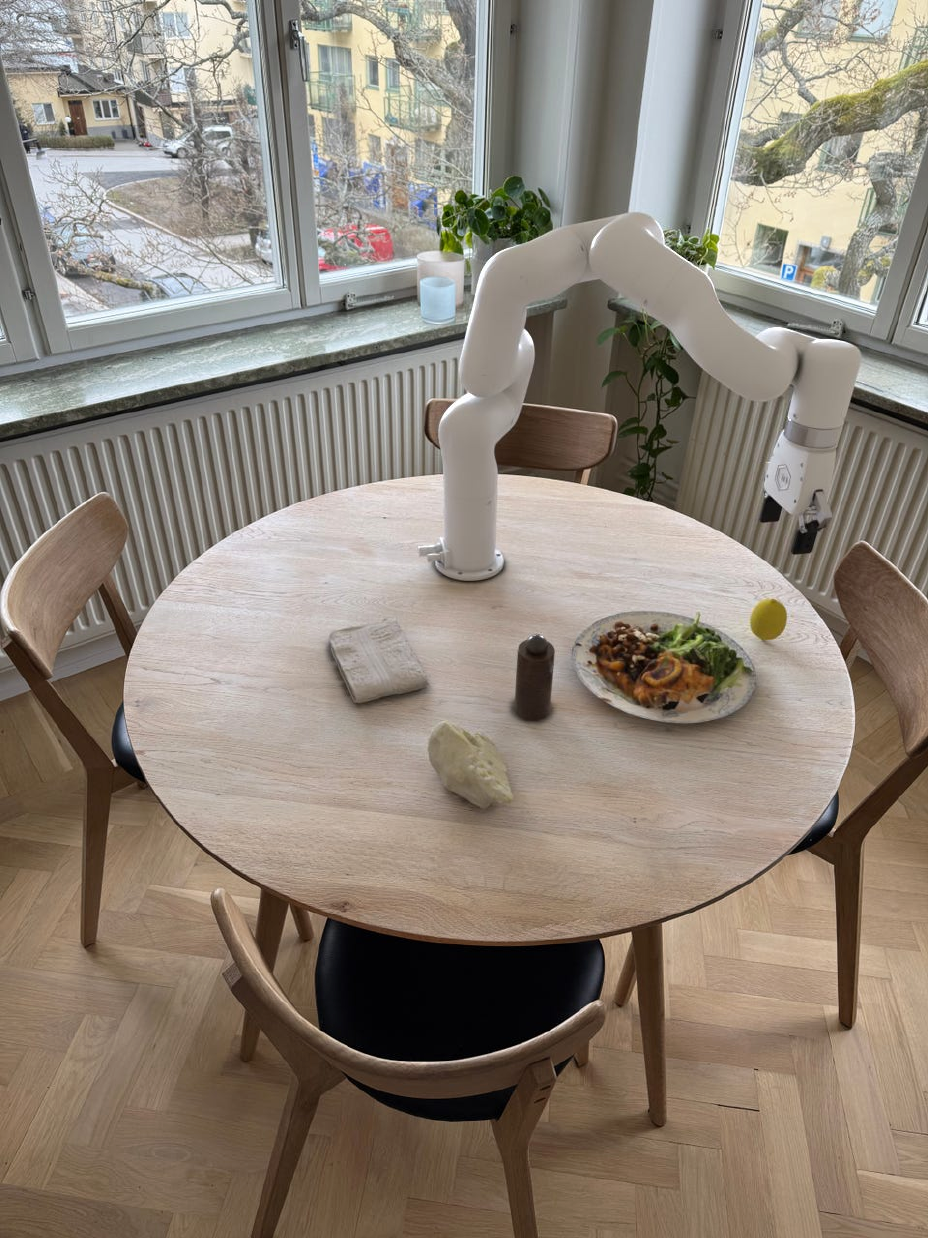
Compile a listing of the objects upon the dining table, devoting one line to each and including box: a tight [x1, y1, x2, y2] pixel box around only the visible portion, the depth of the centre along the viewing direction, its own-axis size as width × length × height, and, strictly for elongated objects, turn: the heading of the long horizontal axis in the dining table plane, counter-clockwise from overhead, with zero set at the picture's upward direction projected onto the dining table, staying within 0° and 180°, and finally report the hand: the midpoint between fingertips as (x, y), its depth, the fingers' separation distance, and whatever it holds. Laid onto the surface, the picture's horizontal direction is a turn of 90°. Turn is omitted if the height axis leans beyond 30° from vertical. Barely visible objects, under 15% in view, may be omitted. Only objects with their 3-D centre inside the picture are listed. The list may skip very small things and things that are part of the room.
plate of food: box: [571, 610, 758, 724], centre depth 138 cm, size 28×28×6 cm
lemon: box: [749, 598, 788, 642], centre depth 145 cm, size 6×6×8 cm
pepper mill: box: [514, 633, 556, 722], centre depth 129 cm, size 5×5×13 cm
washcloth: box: [328, 618, 430, 704], centre depth 140 cm, size 12×18×3 cm, turn 22°
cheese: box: [427, 719, 515, 810], centre depth 117 cm, size 15×7×15 cm
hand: (784, 536), depth 137 cm, fingers open, 9 cm apart
